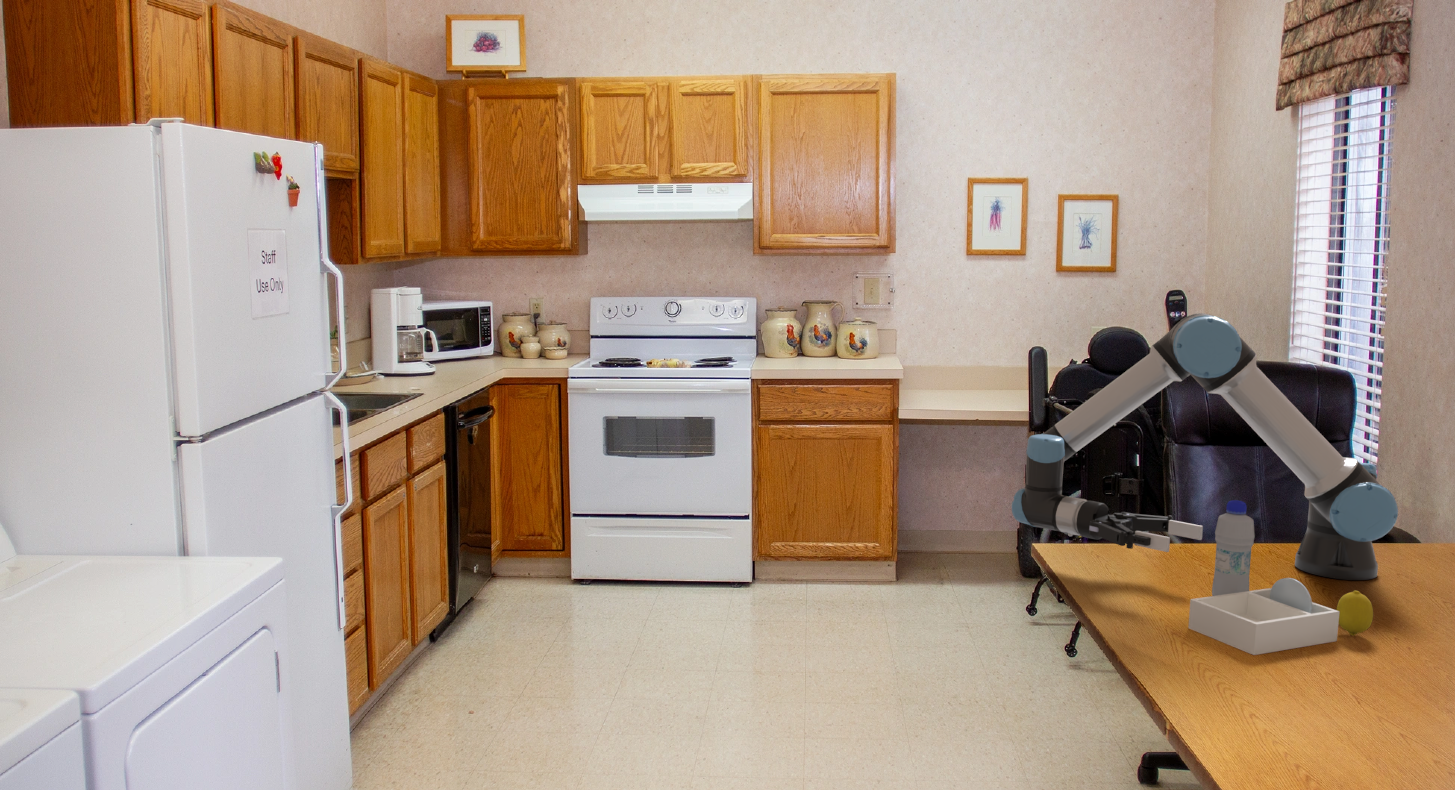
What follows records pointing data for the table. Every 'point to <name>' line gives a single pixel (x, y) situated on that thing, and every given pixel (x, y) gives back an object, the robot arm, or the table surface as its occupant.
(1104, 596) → the table surface
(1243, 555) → the bottle
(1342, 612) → the lemon
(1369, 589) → the table surface
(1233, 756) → the table surface
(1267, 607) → the divided tray
